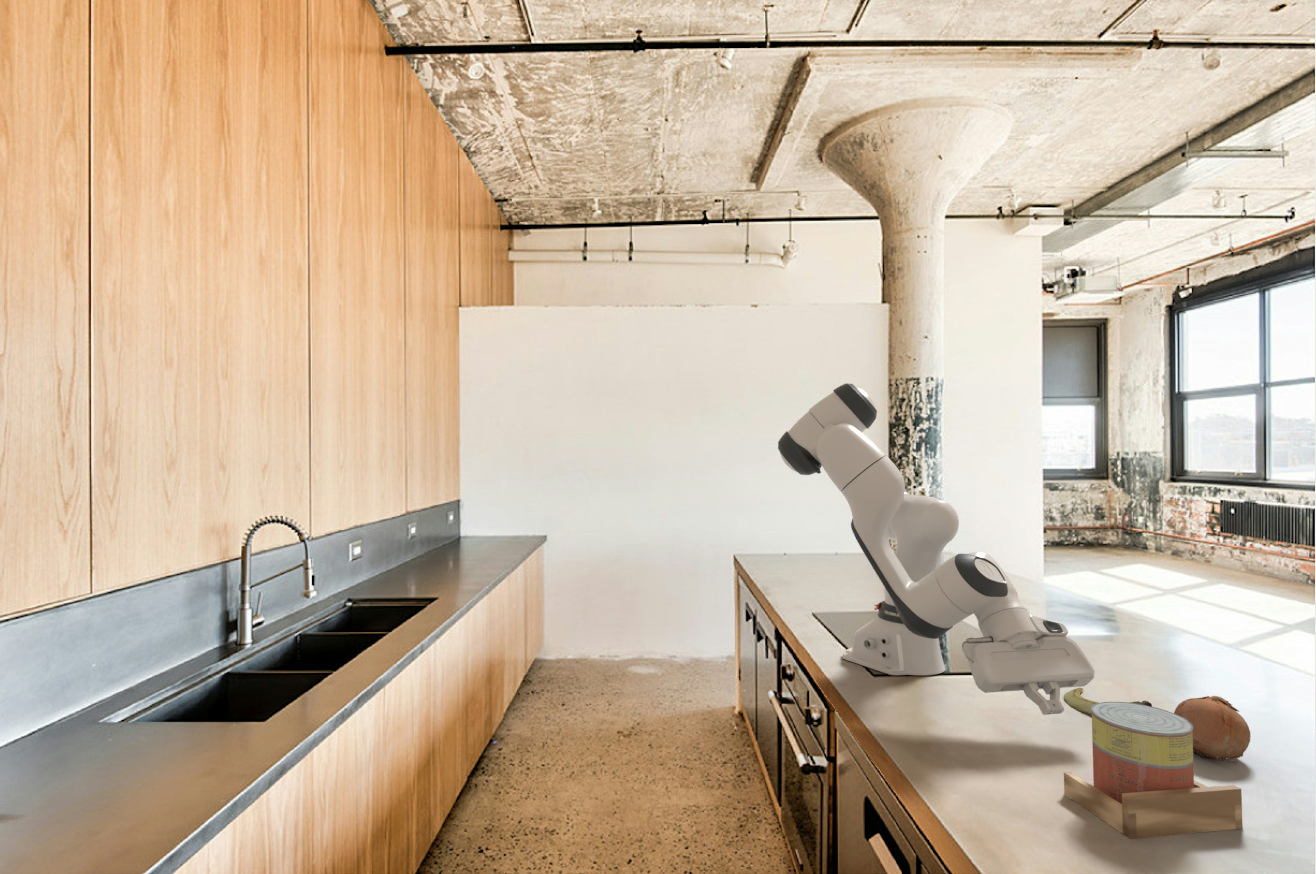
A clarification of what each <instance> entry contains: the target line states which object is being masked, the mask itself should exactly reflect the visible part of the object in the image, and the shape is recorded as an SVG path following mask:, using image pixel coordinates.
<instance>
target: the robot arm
mask: <svg viewBox="0 0 1316 874" xmlns="http://www.w3.org/2000/svg"><path fill="white" fill-rule="evenodd" d="M877 416H878V410H877V409H876V405H875V402H874V400H873V399H872V397H871V396H870V394H869V393H868V392H867V391H865V389H863V388H861V387H859V386H857V385H855V384H853V383H844V384H841V385H840V386H838V387H836V388H835V389H833V392H831V393H829V394H828V395H826V396H825V397H824V398H822V399H821V400H819V401H818V402H816V404H814V405H813V406H811V407H810V408H809V409H808V411H807V412H806V413H804V415H802V416H801V417H800V418H799V419H798V420H797V421H796V423H794V424H793V426H792V427H791V428H790V429H788V430H787V431H785V432H784V434H783V435H782V436H781V437H780V438H779V440H778V442H777V449H778V452H779V453H780V454H779V455H780V457H781V459H782V461H783V462H784V464H785V465H786V466H787V467H788V468H789V469H791V471H794V472H795V473H798V474H799V475H801V476H811V475H813V474H817V475H819V474H821V473H822V471H821V468H823V470H824V471H825V473H826V474H827V476H828V477H829V478H830V480H831V481H832V483H833V484H834V486H835V487H836V488H837V489H838V490H839V492H841V494H842V495H843V497H844V498H845V500H846V501H847V503H848V505H849V508H850V512H851V515H852V520H851V522H850V528H851V531H852V534H853V536H854V537H855V540H856V541H857V542H856V543H858V545H859V547H860V549H861V551H862V552H863V554H864V555H865V557H866V559H867V561H868V562H869V563H870V565H871V567H872V568H873V570H874V572H875V573H876V575H877V577H878V578H879V580H880V581H881V583H882V586H883V588H884V600H883V601H881V602H878V604H874V605H873V606H874V610H873V611H878V613H877V616H876V617H874V618H873V619H871V620H870V621H869V622H867V623H866V624H864V625H862V626H861V627H860V628H858V629H856V632H855V633H854V636H853V639H852V640H853V641H852V646H851V647H849V648H847V649H845V650H844V651H843V653H842V659H844V660H846V661H849V662H852V663H855V664H858V665H860V666H864V667H866V668H869V669H872V670H876V671H878V672H881V673H883V674H884V673H885V674H888V675H890V676H906V675H909V676H934V675H938V674H941V673H944V672H945V671H946V670H947V669H946V665H945V663H944V660H943V656H942V651H941V646H940V639H939V638H941V637H942V636H943V635H945V634H946V633H947V632H948V631H949V630H951V629H952V628H953V627H954V626H955V625H957V624H959V623H960V622H962V621H963V620H965V619H967V618H969V616H972V615H973V614H974V617H975V618H976V620H977V624H978V629H979V631H980V632H981V635H982V637H969V638H966V639H965V640H964V641H963V642H962V644H961V650H962V651H963V652H962V653H963V654H964V656H965V658H966V659H967V662H968V665H969V666H968V667H969V669H970V672H971V675H972V678H973V680H974V683H975V685H976V687H977V688H978V689H979V690H980V691H981V692H983V693H984V694H985V693H1001V692H1003V693H1004V692H1015V691H1023V693H1024V694H1025V697H1027V698H1028V699H1029V700H1030V701H1032V702H1033V704H1035V705H1036V706H1038V708H1039V710H1040V712H1041V714H1042V715H1045V716H1047V715H1060V714H1062V713H1064V711H1065V707H1064V705H1063V703H1062V701H1061V700H1060V699H1061V689H1063V688H1065V689H1066V688H1082V687H1085V686H1087V685H1089V683H1090V682H1092V681H1093V679H1094V678H1095V669H1094V668H1093V665H1092V664H1091V662H1090V661H1089V659H1088V657H1087V655H1086V654H1085V652H1083V650H1082V649H1081V647H1080V646H1079V645H1078V643H1077V642H1076V641H1075V640H1074V639H1072V638H1070V637H1068V636H1067V635H1068V634H1069V629H1068V628H1067V627H1066V625H1065V624H1064V623H1062V622H1059V621H1055V620H1054V621H1053V620H1049V619H1045V618H1041V617H1039V616H1037V615H1034V614H1033V615H1032V614H1031V613H1030V612H1029V610H1028V608H1026V606H1025V605H1024V604H1023V603H1022V602H1021V600H1020V597H1019V594H1018V591H1017V589H1016V587H1015V585H1014V584H1013V582H1012V581H1011V579H1010V578H1009V576H1008V575H1007V573H1006V572H1005V571H1004V569H1003V568H1002V567H1001V566H1000V564H999V562H998V561H996V559H995V558H993V556H991V555H990V554H988V553H986V552H982V551H973V552H972V551H971V552H967V553H958V554H956V555H954V556H952V557H950V558H948V559H947V560H945V561H944V562H943V563H941V564H940V565H939V563H940V559H941V556H942V554H943V551H944V548H946V546H947V545H948V544H949V543H950V542H951V541H952V540H953V539H954V538H955V536H957V533H958V531H959V525H960V524H959V523H960V521H959V516H958V512H957V511H956V509H955V508H954V507H953V506H952V505H951V503H949V502H946V501H944V500H942V499H940V498H937V497H933V496H928V495H918V494H911V493H909V492H907V491H906V483H905V478H904V476H903V474H902V473H901V471H900V469H899V468H898V467H897V465H895V463H894V462H893V460H892V459H890V458H889V457H888V456H887V454H886V453H885V452H884V450H882V449H881V448H880V447H879V446H878V444H876V443H875V442H874V441H873V440H872V439H871V438H870V437H869V436H868V435H867V434H866V433H865V432H864V431H865V430H866V429H870V427H871V426H872V425H873V423H875V420H876V419H877ZM890 540H892V541H896V549H895V552H894V550H893V549H892V547H891V544H890ZM1039 690H1042V691H1044V693H1045V694H1046V695H1049V699H1047V698H1045V697H1044V696H1043V695H1042V694H1041V693H1040V692H1039Z"/></svg>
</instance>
